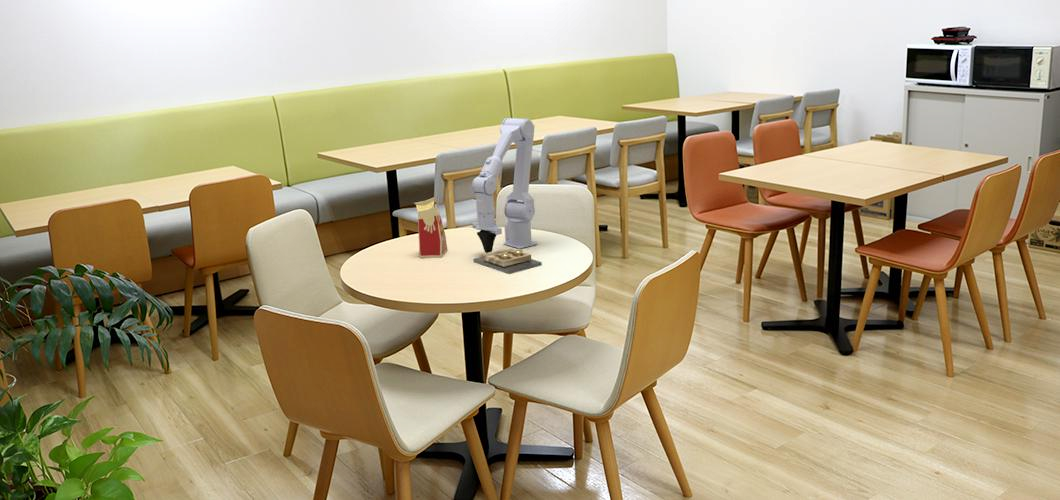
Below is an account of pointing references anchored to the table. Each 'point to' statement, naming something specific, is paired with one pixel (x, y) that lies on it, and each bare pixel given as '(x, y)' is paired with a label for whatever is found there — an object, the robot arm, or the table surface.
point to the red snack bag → (430, 230)
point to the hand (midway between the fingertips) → (488, 252)
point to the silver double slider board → (509, 268)
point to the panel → (513, 259)
